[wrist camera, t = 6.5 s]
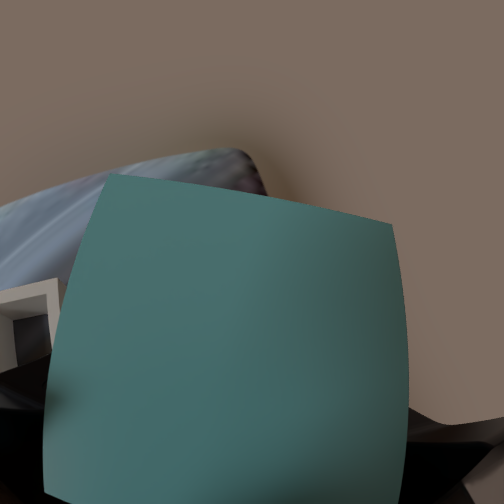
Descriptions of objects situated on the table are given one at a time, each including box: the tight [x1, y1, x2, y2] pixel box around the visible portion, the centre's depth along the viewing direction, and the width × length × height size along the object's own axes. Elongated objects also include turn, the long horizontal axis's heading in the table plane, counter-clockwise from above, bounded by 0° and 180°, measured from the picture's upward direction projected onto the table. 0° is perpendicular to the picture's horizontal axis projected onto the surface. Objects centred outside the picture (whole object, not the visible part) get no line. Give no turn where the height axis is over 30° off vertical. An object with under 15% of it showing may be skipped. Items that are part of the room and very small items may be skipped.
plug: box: [43, 174, 409, 504], centre depth 9 cm, size 5×5×12 cm
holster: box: [0, 278, 67, 373], centre depth 16 cm, size 8×8×4 cm
